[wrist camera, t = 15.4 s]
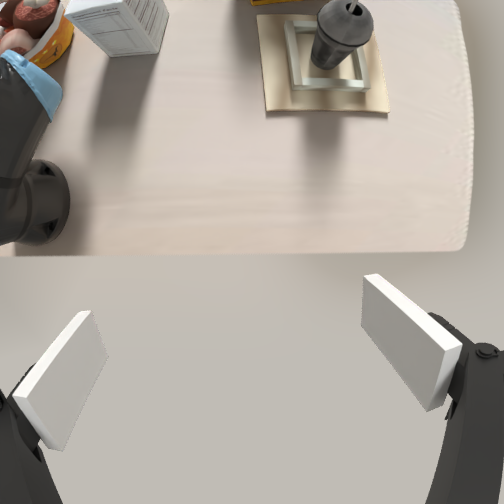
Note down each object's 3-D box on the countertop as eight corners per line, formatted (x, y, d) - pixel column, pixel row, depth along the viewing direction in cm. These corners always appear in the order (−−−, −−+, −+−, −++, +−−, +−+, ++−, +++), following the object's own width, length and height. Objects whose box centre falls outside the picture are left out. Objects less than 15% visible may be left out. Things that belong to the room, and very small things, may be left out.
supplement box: (170, 12, 38) (145, -45, 22) (159, 54, 40) (124, 2, 23) (121, 17, 38) (83, -32, 21) (108, 58, 39) (61, 16, 23)
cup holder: (266, 111, 42) (267, 105, 39) (256, 17, 39) (257, 6, 35) (387, 113, 42) (397, 108, 39) (369, 24, 39) (376, 15, 35)
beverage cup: (355, 65, 40) (411, 5, 20) (322, 85, 40) (368, 23, 21) (326, 33, 39) (365, -39, 19) (292, 51, 39) (318, -24, 20)
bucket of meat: (99, 0, 37) (53, -52, 17) (82, 69, 40) (18, 26, 20) (24, 28, 36) (-28, -4, 17) (8, 93, 39) (-57, 72, 20)
